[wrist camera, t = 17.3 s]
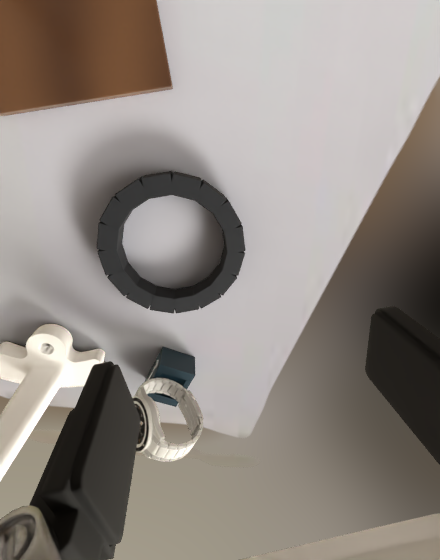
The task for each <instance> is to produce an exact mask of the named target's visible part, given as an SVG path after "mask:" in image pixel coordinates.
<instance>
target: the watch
mask: <svg viewBox="0 0 440 560" xmlns="http://www.w3.org/2000/svg"><path fill="white" fill-rule="evenodd" d="M194 376H195V357H193V356H190V355H187V354H184V353H181V352H178V351H175V350H172V349H169V348H166V347H162V349H161V351H160V353H159V355H158V356H157V358H156V360H155V362H154V364H153V366H152V368H151V370H150V372H149V374H148V375H147V377H146V381H145V382H144V383H143V384H142V385H141V386H140V387H139V388H138V390H137V392H136V394H135V396H134V397H132V399H133V401H134V404H135V406H136V409H137V411H138V414H139V417H140V428H139V434H138V441H137V447H136V452H141V453H142V454H143V455H145V456H146V457H147V458H152V459H155V460H160V461H165V462H166V461H174V460H177V459H180V458H182V457H184V455H186V454H187V453H188V452H189V451H190V450H191V448H192V447H193V445H194V444H195V442H196V441H197V439H198V438H199V436H200V435H201V432H202V429H203V416H202V413H201V410H200V408H199V405H198V403H197V401H196V400H195V398H194V396H193V395H192V393H191V392H190V391H189V390H188V391H187V390H186V389H187V388H188V386H189V385H190V383H191V381H192V380H193V378H194ZM154 401H157V402H160V403H164V404H168V405H171V406H175V407H176V406H177V404H178V403H179V405H178V406H179V408H180V410H181V411H182V413H183V415H184V417H185V420H186V422H187V425H188V429H189V430H190V431H191V436H192V440H191V441H188V442H186V443H181V444H178V445H177V444H175V443H168V442H167V441H164V440H163V439H164V438H165V436H164V433H163V431H162V429H161V427H160V418H159V411H158V408H157V406H156V403H155V402H154Z"/></svg>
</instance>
